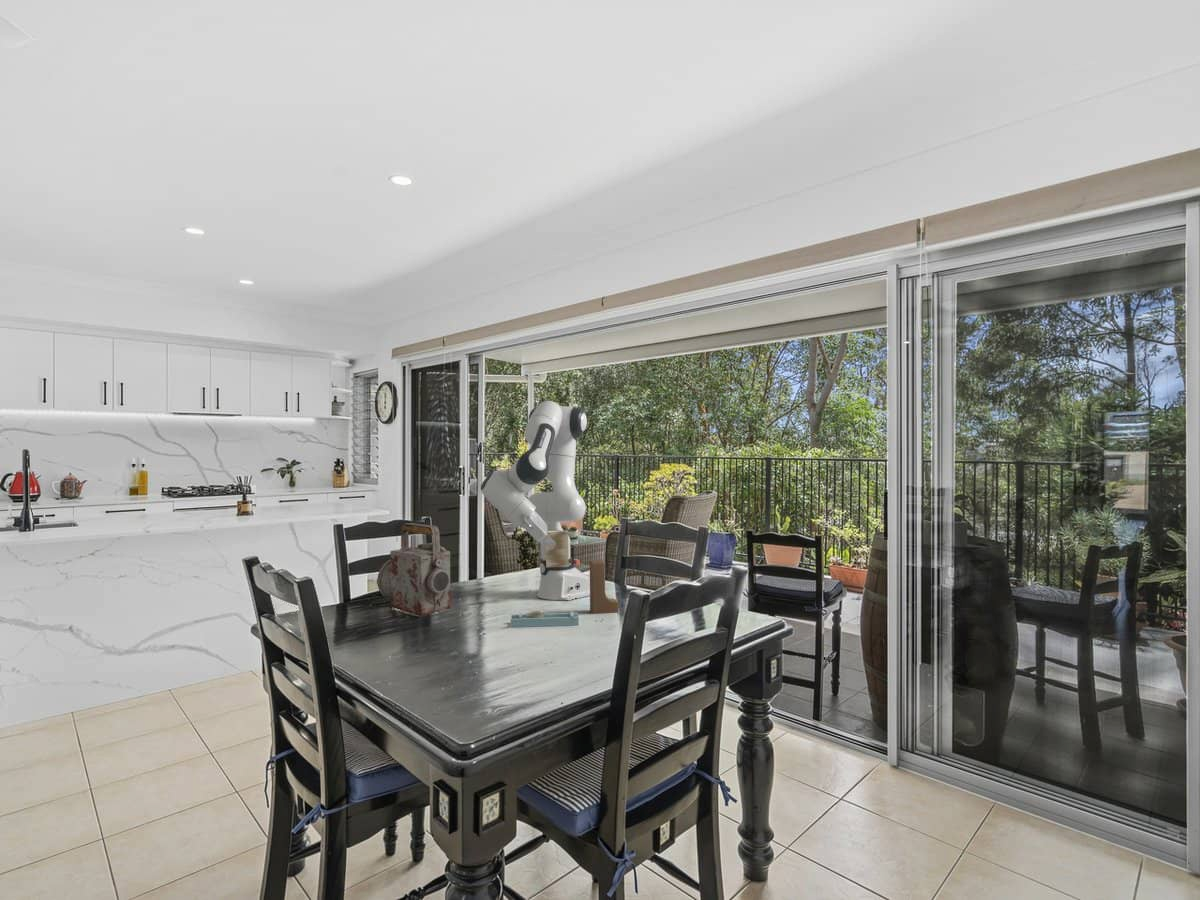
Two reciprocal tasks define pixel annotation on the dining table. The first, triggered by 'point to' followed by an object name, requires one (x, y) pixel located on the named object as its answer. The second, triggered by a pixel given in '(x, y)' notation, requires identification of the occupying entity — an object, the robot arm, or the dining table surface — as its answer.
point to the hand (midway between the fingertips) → (554, 544)
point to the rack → (545, 621)
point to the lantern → (417, 574)
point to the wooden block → (600, 590)
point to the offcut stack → (534, 614)
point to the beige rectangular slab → (557, 550)
